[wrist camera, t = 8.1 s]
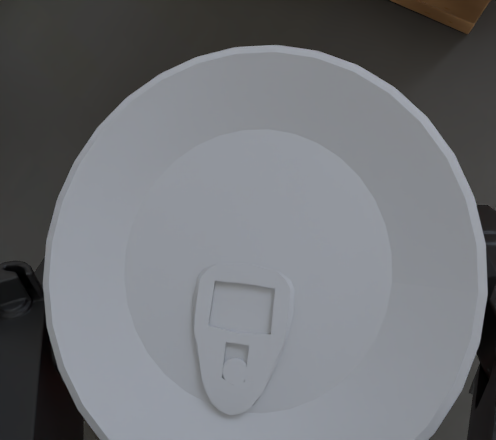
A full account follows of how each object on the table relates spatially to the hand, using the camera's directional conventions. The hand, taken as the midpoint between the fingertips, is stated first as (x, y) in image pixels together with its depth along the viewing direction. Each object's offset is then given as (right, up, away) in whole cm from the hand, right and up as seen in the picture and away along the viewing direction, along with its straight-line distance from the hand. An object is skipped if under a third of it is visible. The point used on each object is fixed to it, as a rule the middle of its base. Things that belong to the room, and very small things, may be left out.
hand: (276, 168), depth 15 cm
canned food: (+1, -4, +4) cm, 5 cm away
